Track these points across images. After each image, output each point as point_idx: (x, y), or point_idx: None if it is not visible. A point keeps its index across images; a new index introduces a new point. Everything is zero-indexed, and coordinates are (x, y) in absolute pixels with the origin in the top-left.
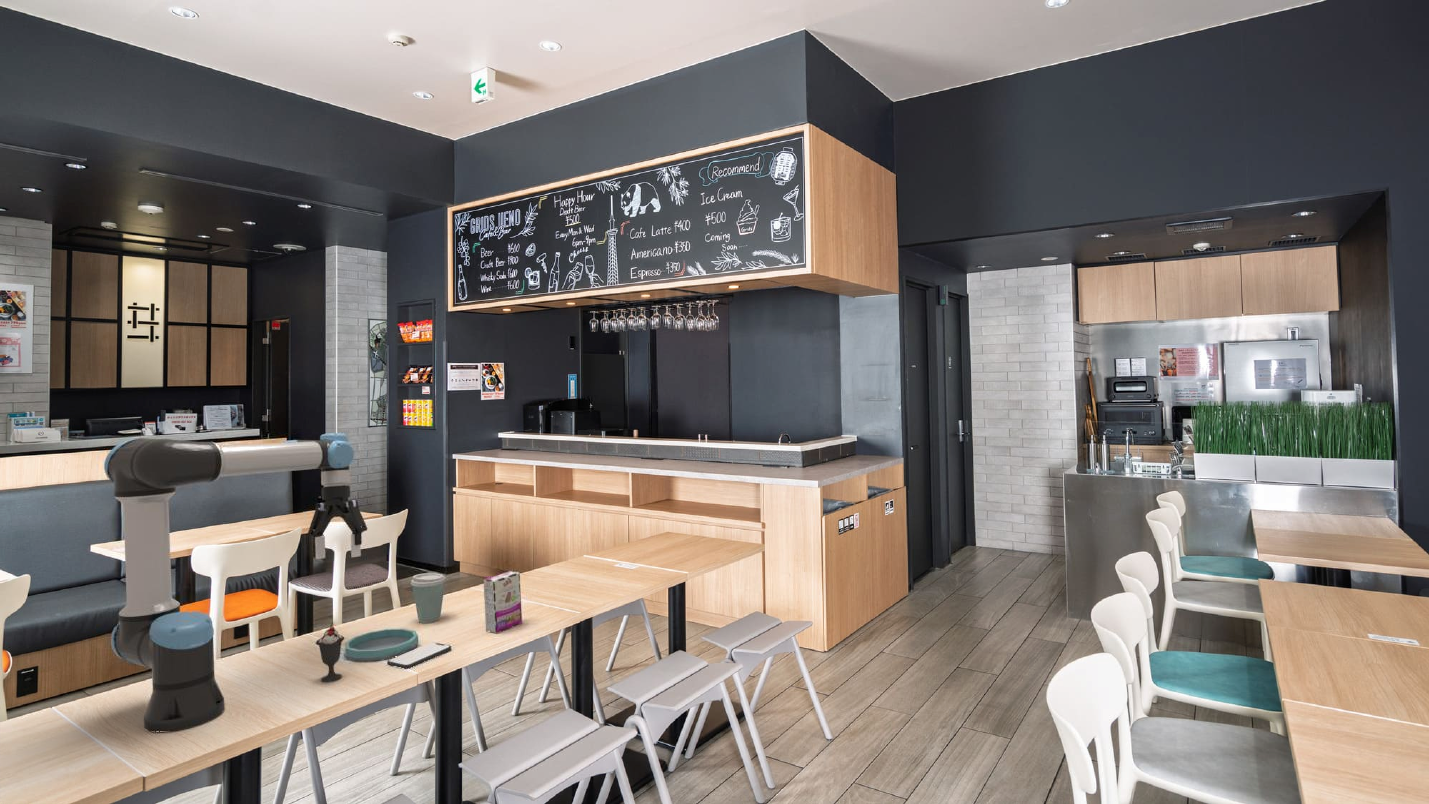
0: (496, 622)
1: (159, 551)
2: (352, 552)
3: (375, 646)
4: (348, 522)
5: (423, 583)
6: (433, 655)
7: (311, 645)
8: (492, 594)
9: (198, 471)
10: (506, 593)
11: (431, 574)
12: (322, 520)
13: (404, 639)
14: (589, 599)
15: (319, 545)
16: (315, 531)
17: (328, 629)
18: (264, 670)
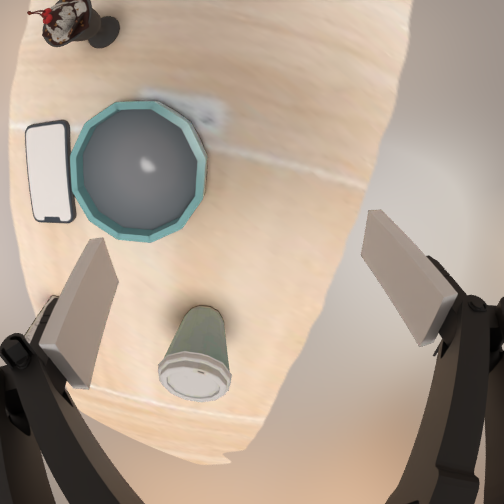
0: (44, 306)
1: None
2: (86, 255)
3: (147, 164)
4: (51, 450)
5: (171, 359)
6: (28, 180)
7: (317, 137)
8: (26, 336)
9: None
10: None
11: (208, 397)
12: (462, 441)
13: (130, 217)
14: (89, 406)
15: (405, 270)
16: (480, 329)
17: (58, 14)
18: (277, 2)
